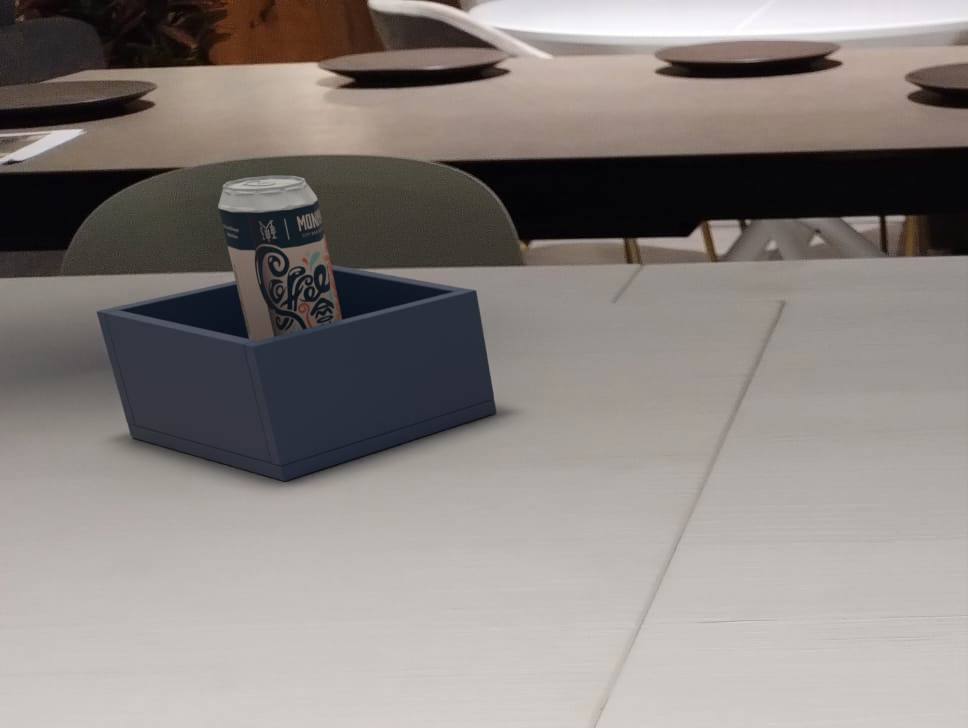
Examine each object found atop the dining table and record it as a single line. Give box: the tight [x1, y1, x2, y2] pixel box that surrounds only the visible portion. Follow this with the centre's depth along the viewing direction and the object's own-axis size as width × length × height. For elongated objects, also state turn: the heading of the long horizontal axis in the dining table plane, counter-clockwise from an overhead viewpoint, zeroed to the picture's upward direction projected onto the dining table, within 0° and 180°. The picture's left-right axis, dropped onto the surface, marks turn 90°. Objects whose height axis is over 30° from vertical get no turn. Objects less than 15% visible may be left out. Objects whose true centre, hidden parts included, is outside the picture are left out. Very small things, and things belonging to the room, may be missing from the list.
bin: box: [96, 264, 497, 482], centre depth 91 cm, size 14×14×7 cm
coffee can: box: [217, 175, 342, 341], centre depth 89 cm, size 5×5×12 cm
